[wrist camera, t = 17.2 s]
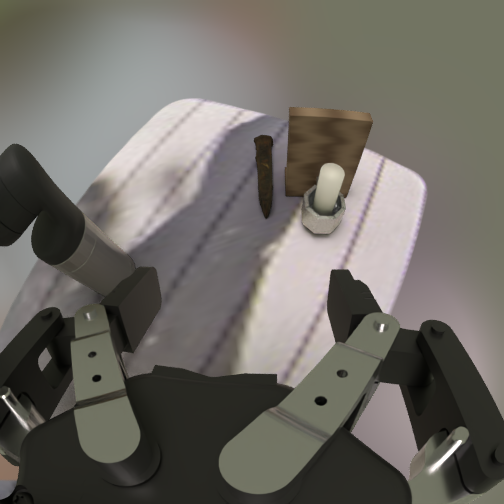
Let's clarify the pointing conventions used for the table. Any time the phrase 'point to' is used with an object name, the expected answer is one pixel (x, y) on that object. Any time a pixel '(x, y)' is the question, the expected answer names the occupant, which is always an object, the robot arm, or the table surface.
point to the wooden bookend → (323, 145)
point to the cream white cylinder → (328, 189)
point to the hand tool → (264, 171)
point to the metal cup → (321, 222)
